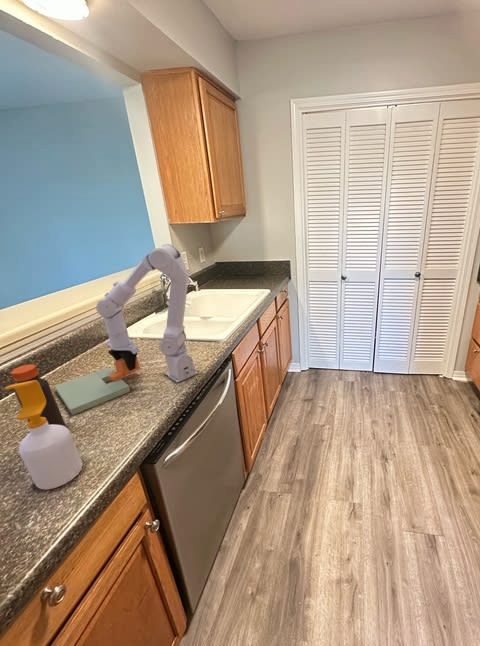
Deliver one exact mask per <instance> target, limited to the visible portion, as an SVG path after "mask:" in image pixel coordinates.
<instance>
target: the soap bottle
mask: <svg viewBox="0 0 480 646" xmlns="http://www.w3.org/2000/svg"><path fill="white" fill-rule="evenodd" d="M11 389H14V391H15V390H16V392H17V394H18V396H19V398H20V400H21V403H22V407H21V410H20V411H19V412H18V414H17V416H16V420H18V421H22V420H27V419H28V420H29V419H30V422H28V420H27V423H26V427H27V430H28V431H29V433H27V435H25V437H24V438H23V439H22V440H21V442H20V444H19V445H18V452H19V455H20V457H21V459H22V461H23V463H24V465H25V467H26V469H27V471H28V473H29V475H30V477H31V479H32V481H33V483H34V485H35V487H36V488H38V489H40V490H52V489H56V488H58V487H61V486H64V485H65V484H67V483H69V482H71V481H73V479H74V478H75V477H77V476H78V475H79V474H80V473H81V471H82V469H83V465H84V463H83V460H82V458H81V455H80V453H79V450H78V447H77V446H76V443H75V441H74V438H73V436H72V434H71V431H70V429H69V428H68V427H67V426H66V427H65V426H62V425H53V424H52V425H49V424H48V422H47V419H46V418H45V417H40V415H41V413H42V411H43V409H44V407H45V405H46V398H45V396H44V394H43V391H42V389H41V386H40V384H39V382H38V381H37V380H33V381H28V382H23V383H14V384H13V383H12V384H10V385H8V386H5V387H4V391H8V390H11Z"/></svg>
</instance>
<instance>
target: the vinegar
mask: <svg viewBox="0 0 480 646" xmlns="http://www.w3.org/2000/svg"><path fill="white" fill-rule="evenodd" d="M10 374H11V376H12V379H13V381H14V383H15V384H18V383H23V382H28V381H33V380H37V381H38V382H39V384H40V386H41V389H42V391H43V394H44V396H45V398H46V405H45V407H44V409H43V411H42V413H41V415H40V417H45V418H46V419H47V422H48V424H49V425H52V424H53V425H62V426H65V427H66V428H67V424H66V422H65V420H64V417H63V415H62V413H61V411H60V408H59V405H58V403H57V401H56V399H55V396H54V394H53V391H52V389H51V387H50V384H49V382H48V380H47V379H45V378H42V377H40V372H39V370H38V367H37V365H36V364H34V363H33V364H32V363H31V364H30V363H29V364H25V365H20V366H18V367H15V368H14V369H13V370H12V371H10ZM14 394H15V396H16V399H17V401H18V403H19V405H20V407H21V408H22V403H21V400H20V398H19V396H18V394H17V392H16V390H15V389H14ZM26 420H27V423H28V422H30V419H29V420H28V419H26Z"/></svg>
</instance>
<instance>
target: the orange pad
mask: <svg viewBox="0 0 480 646" xmlns="http://www.w3.org/2000/svg"><path fill="white" fill-rule="evenodd" d="M113 362H114V367H115V370H116V371H114V373H113V374H111V375H109V376H108V377H109V380H111V381H112V382H114V381H117V380H119V379H122V378H124V377H128V376H129V375H131V374H133V373H135V372H137V371H139V370H140V369H141V367H140V364H139V363H140V362H139V359H138V355H137V356H136V368H135V369H133V370H131V371H130V370H129V369H128V367H127V365H126V363H125V361H124V359H123V358H121V359H119V360H117V361H116V360H115V361H113Z"/></svg>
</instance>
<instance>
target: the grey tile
mask: <svg viewBox="0 0 480 646" xmlns="http://www.w3.org/2000/svg"><path fill="white" fill-rule="evenodd" d="M113 373H115V371H113V370H112V369H111V368H110V367H104V368H101V369H99V370H95V371H93V372H90V373H87V374H85V375H82V376H79V377H76V378H73V379H71V380H67V381H65V382H62V383H60V384H56V385H54V388H55V391H56V392H57V394H58V396H59V397H60V398H61V400H62V401H63V403H64V405H65V406H66V408H67V410H68V411H69V412H70V414H71V415H72V416H74V415H77V414H79V413H81V412H84V411H86V410H88V409H92V408H94V407H95V406H98V405H101V404H103V403H105V402H108V401H110V400H113V399H115V398H117V397H120V396H122V395H124V394H127V393H130V392H131V389H130V386H129V384H127V383H126V382H125V381H124V380H123V379H122V378H120V379H118V380H117V381H112V380H109V377H108V376H109V375H111V374H113ZM110 381H112V382H110ZM108 382H109V383H108Z"/></svg>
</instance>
